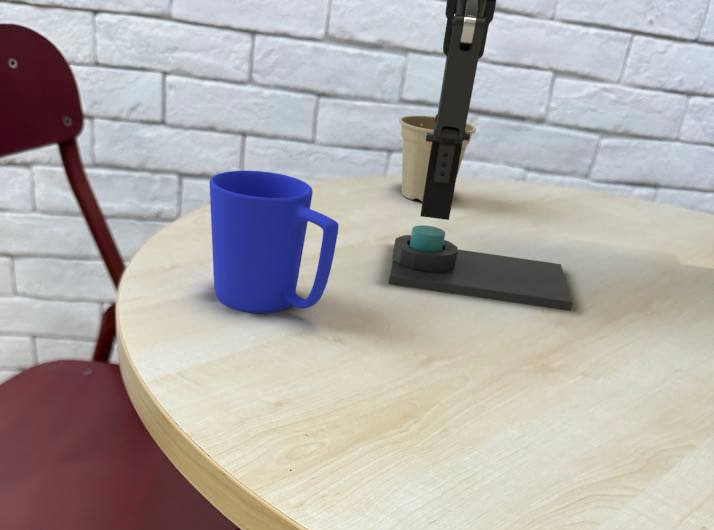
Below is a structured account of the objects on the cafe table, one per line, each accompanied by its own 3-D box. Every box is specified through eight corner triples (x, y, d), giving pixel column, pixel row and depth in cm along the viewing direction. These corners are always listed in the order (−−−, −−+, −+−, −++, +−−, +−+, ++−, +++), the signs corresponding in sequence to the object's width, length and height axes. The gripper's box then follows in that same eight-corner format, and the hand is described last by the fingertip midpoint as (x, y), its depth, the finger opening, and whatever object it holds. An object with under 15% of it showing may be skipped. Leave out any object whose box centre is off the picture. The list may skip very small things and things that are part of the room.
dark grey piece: (557, 277, 87) (565, 248, 86) (568, 316, 78) (578, 285, 77) (393, 253, 88) (398, 224, 86) (386, 290, 79) (391, 258, 78)
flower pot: (372, 190, 108) (383, 116, 103) (422, 183, 113) (434, 112, 108) (427, 211, 102) (440, 134, 97) (476, 203, 108) (492, 129, 103)
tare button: (442, 246, 83) (445, 227, 82) (441, 256, 81) (445, 237, 80) (410, 241, 83) (413, 223, 82) (408, 251, 81) (411, 232, 80)
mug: (287, 348, 67) (299, 218, 61) (186, 299, 73) (187, 177, 67) (354, 325, 72) (370, 203, 66) (254, 281, 78) (261, 165, 72)
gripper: (440, -97, 72) (399, 193, 86) (437, -102, 61) (391, 230, 75) (529, -88, 71) (473, 203, 85) (542, -91, 61) (475, 241, 75)
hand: (434, 215), depth 80 cm, fingers closed
